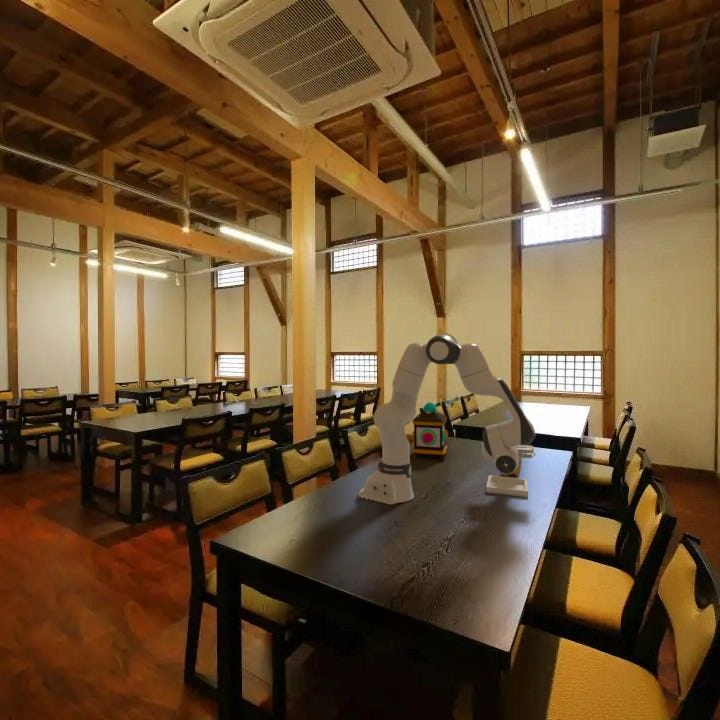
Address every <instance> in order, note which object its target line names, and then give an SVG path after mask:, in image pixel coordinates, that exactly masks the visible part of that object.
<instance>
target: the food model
mask: <svg viewBox="0 0 720 720" xmlns="http://www.w3.org/2000/svg"><path fill="white" fill-rule="evenodd" d="M522 459H523V458H519V464H518V467H517V469H516V470H515V471H514V472H513V473H510V474H504V473H501V472H500V471H499V473H500V475H503V476H504V477H513V478H519V476H520V475H521V469H522Z"/></svg>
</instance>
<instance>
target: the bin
mask: <svg viewBox="0 0 720 720" xmlns="http://www.w3.org/2000/svg"><path fill="white" fill-rule="evenodd" d="M528 486H529V484H528V478H522V477H521V478H520V477H511V476H504V475H503V476H501V475H492V474H491V475H490V474H489V475H488V477H487V482H486V488H485V489H486V490H485V491H486V494H494V495H501V494H502V495H501V496H510V495H512V496H513V497H519V496H520V498H529V487H528Z"/></svg>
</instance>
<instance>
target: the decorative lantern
mask: <svg viewBox="0 0 720 720" xmlns="http://www.w3.org/2000/svg"><path fill="white" fill-rule="evenodd" d="M447 419H448V417H447V416H446V415H445V414H444V413H440V412H439V411H438V410H437V406H436V405H435V404H434V403H433V402H431V401H429V402H427V403H425V405H424V406H423V411H422V412H421V413H418V415H415V417H414V418H413V420H412V421H411V423H412V424H413V431H412V432H411V434H412V437H413V438H414V439H413V440H414V447H413V450H412V452H411V458H412V459H414V460H415V458H416V455H421V456H437V457H441V461H442V460H443V461H442V462H444V461H445V457H446V454H448V452H449V449H448V445H447V444H446V443H447V442H446V439H447V438H448V437H449V432H448V430H447V429H446V422H447Z"/></svg>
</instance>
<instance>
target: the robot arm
mask: <svg viewBox="0 0 720 720" xmlns="http://www.w3.org/2000/svg"><path fill="white" fill-rule="evenodd" d="M398 362H399V363H398V366H397V369H396V371H395V375H394V378H393V380H392V384H391V387H392V394H391V398H390V400H389V402H386V403H383V404H381V405H380V406H379V407H378V408H377V409H376V410H375V411H374V413H373V422H374V425H375V426H376V428H377V429H378V432H379V435H380V439H381V445H382V452H381V453H382V458H381V459H380V460H379V462H378V463H377V464H376V466H377V467H376V468H377V469H378V470H376V471H374V472H373V473H372V474H371V475H369V476H368V477H367V478H366V479H365V482H364V485H363V488H361V489H360V490H359V492H358V498H360V497H361V498H360V499H363V498H365V500H368V499H370V500H369V501H372V500H374V501H373V502H377V501H378V502H377V503H381V502H382V504H385V503H386V504H385V505H395V504H398V503H399V504H400V503H405V502H409V501H411V500H413V499H414V498H415V495H414V492H413V485H412V480H411V478H412V477H411V476H412V463H411V461H410V460H411V458H410V455H411V454H410V452H411V451H410V450H411V449H410V447H411V446H410V442H409V440H408V437H407V435H406V430H405V427H406V426H407V425H409V424H410V423H412V421H413V420H414V418H415V417H416V414H417V409H416V407H417V401H418V397H419V392H420V389H421V386H422V383H423V381H424V378H425V375H426V372H427V369H428V367H429V365H430V364H431V363H434V364H436V365H454V366H455V367H456V369H457V371H458V372H457V373H458V375H459V377H460V380H461V383H462V385H463V386H464V389H466V390H467V392H469V393H470V394H473V395H477V396H487V397H488V396H489V397H495V398H499V399H501V400H502V401H503V402H504V404H505V406H506V408H507V409H508V410H509V412H510V413H509V414H511V415H512V417H513V418H512V419H510V420H505V421H502V422H498V423H494V424H490V425H486V426H485V427H484V430H483V432H482V435H481V436H482V443H481V454H482V456H483V457H484V458H483V459H484V460H485V461H489V462H492V463H493V464H494V467H495V468H496V470H497V471H498V472H499V473H500V472H501V473H504V474H510V473H513V472H514V471H515V470H516V469H517V467H518V464H519V458H522V459H532V458H533V457H535V456H536V452H535V447H534V445H531V444H532V443H533V441H534V439H535V438H536V430H535V428H534V425H533V423H532V422H531V421H530V420H529V419H528V417H527V416H526V414H525V413H524V411H523V409H522V408H521V406H520V404H519V403H518V401H517V399H516V398H515V396H514V394H513V393H512V390H511V389H510V388H509V386H508V385H507V383H506V382H505V381H504V380H503V378H499V377H496V375H494V374H493V372H491V369H490V367H489V363H488V362H487V359H486V358H485V356H484V353H483V352H482V351H481V349H480V347H479V345H477V344H476V343H473V342H471V343H463V344H458V341H457V339H456V338H455V337H454V336H453V335H451V334H449V333H445V332H444V333H437V334H436V335H434V336H433V337H431V338H430V339H429V340H428V342H427V343H426V344H423V343H419V342H413V343H410V344H408V346H406V348H405V350H404V352H403V353H402V356H401V358H400V361H398ZM501 473H500V474H501Z"/></svg>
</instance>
